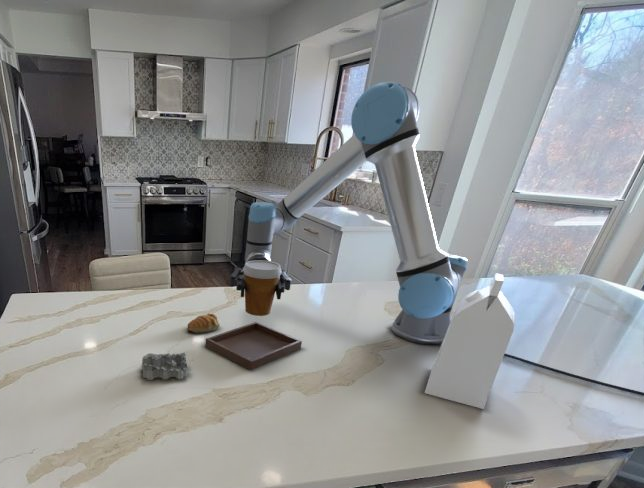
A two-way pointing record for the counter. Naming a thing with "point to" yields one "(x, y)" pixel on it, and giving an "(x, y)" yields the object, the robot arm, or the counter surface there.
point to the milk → (473, 347)
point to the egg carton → (164, 366)
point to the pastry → (204, 323)
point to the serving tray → (253, 345)
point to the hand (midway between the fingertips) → (261, 292)
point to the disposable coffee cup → (260, 286)
